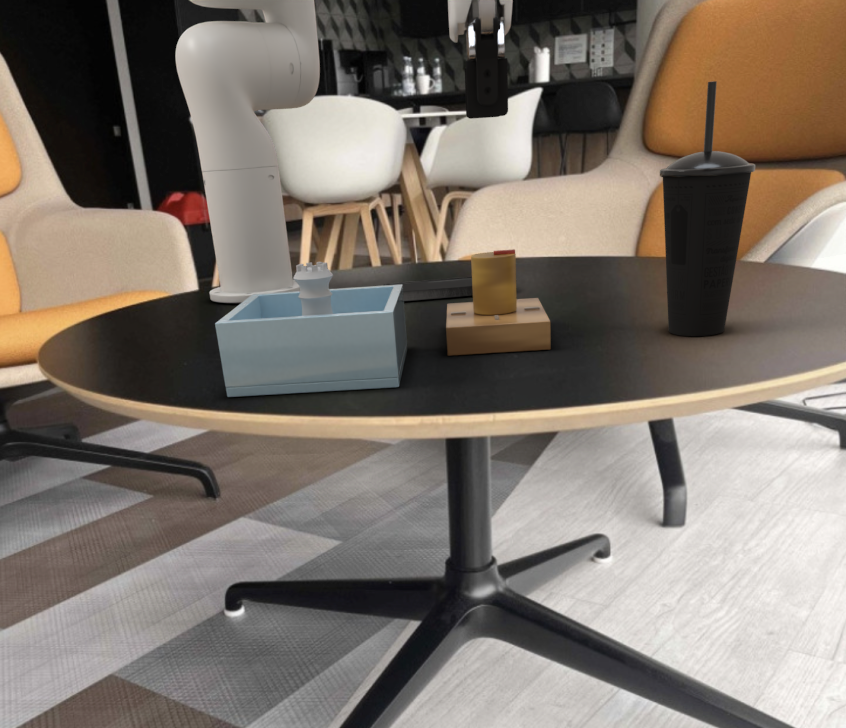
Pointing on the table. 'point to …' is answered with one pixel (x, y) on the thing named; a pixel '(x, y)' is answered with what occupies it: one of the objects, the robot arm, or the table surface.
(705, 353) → the table surface
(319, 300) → the rook chess piece
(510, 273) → the red-marked tan cylinder
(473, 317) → the panel
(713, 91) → the drinking cup
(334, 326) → the basin
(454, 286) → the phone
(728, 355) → the table surface
